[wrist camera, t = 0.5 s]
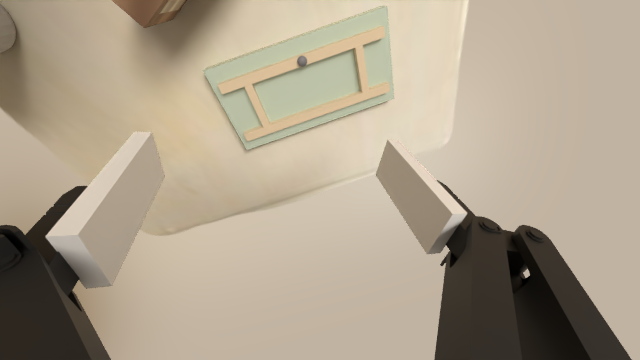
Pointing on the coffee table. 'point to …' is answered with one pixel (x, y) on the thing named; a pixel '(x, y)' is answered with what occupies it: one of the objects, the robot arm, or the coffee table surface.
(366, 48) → the mint cabinet door
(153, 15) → the brown wooden picture frame
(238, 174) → the coffee table surface
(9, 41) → the coffee cup
